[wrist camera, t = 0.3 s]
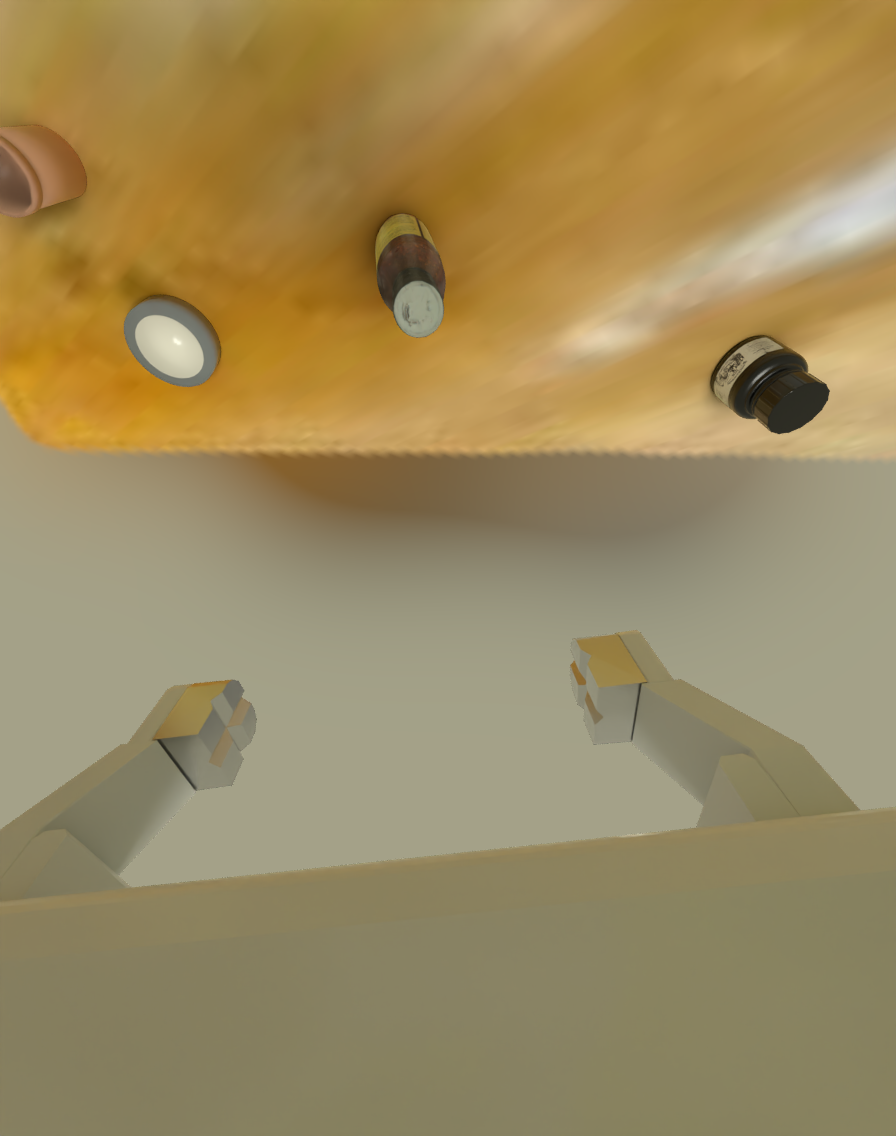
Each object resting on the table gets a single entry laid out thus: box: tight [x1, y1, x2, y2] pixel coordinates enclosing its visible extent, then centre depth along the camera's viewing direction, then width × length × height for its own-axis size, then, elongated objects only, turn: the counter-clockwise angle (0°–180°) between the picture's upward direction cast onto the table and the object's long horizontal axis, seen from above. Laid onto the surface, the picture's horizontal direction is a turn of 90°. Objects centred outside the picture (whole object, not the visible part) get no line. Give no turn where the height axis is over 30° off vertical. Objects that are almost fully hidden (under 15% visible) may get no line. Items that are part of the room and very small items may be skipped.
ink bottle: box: [711, 336, 830, 434], centre depth 55 cm, size 10×9×12 cm
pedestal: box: [124, 295, 221, 387], centre depth 48 cm, size 9×9×3 cm
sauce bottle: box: [375, 213, 446, 338], centre depth 38 cm, size 7×6×20 cm
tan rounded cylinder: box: [0, 125, 87, 217], centre depth 35 cm, size 5×5×9 cm
